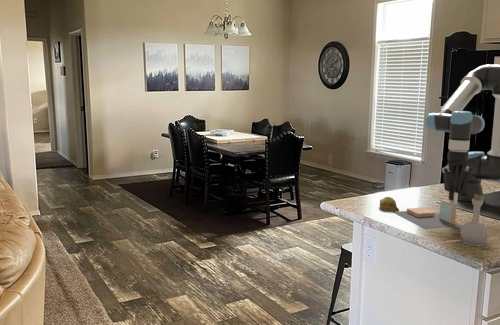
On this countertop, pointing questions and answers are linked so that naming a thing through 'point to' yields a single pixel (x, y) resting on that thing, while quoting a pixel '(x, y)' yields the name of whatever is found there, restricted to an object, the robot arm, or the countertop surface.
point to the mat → (426, 221)
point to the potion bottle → (474, 226)
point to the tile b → (447, 211)
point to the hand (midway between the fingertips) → (452, 208)
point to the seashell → (388, 204)
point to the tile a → (420, 212)
